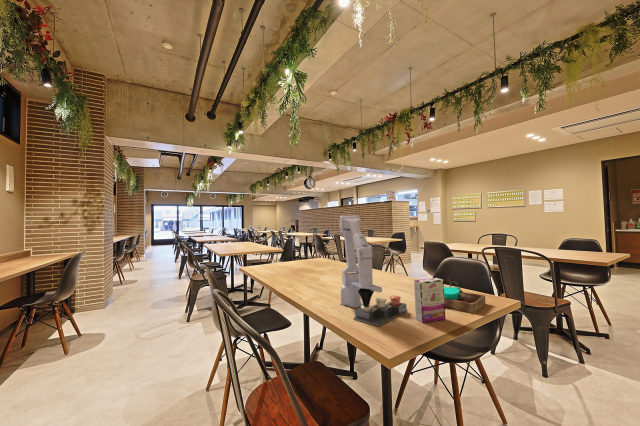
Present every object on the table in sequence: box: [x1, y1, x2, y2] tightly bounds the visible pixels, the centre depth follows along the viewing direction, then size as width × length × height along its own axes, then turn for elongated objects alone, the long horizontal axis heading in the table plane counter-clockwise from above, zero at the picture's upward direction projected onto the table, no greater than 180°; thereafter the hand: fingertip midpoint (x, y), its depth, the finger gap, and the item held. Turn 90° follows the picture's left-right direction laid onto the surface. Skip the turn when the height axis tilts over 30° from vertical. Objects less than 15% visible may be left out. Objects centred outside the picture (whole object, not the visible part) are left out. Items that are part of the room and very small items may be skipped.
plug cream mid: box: [375, 297, 387, 309], centre depth 118 cm, size 5×5×4 cm
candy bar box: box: [413, 277, 446, 324], centre depth 112 cm, size 11×5×16 cm, turn 105°
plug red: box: [389, 295, 401, 306], centre depth 121 cm, size 5×5×4 cm
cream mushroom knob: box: [360, 304, 373, 312], centre depth 115 cm, size 5×5×4 cm
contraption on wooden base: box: [444, 278, 472, 310], centre depth 131 cm, size 14×18×15 cm
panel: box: [353, 301, 408, 328], centre depth 118 cm, size 13×24×4 cm, turn 137°
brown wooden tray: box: [444, 291, 486, 314], centre depth 131 cm, size 22×18×4 cm
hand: (366, 306), depth 115 cm, fingers closed, pressing on cream mushroom knob
